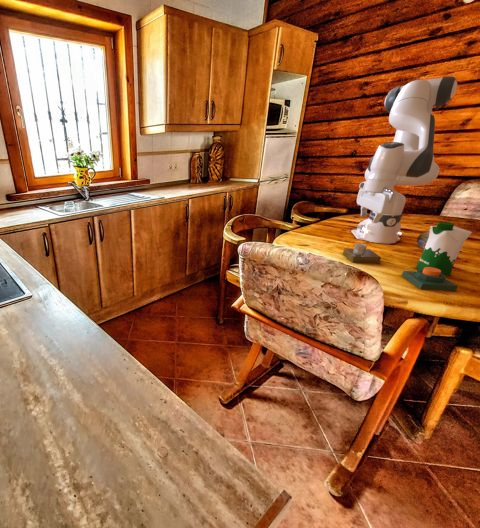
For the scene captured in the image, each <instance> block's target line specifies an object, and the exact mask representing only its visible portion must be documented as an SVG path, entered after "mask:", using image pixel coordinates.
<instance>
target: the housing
mask: <svg viewBox="0 0 480 528" xmlns="http://www.w3.org/2000/svg"><path fill="white" fill-rule="evenodd" d="M422 272H423V269H420V270H418V269H416V270H403V271H402V273H401V277H402V278H404V279H406V280H407V281H408V282H410V283H411V284H413V285H414V286H415V287H417V288H418V289H419V290H428V291H429V290H430V291H444V292H445V291H446V292H456V291H457V290H458V289H457V288H458V284H456V283H454V282H452V281H450V280H449V279H447V278H446V276H445V275H444V274H442V273H440V276H439V277H436V276H429V275H426V274H423V273H422Z"/></svg>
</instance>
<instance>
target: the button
mask: <svg viewBox="0 0 480 528" xmlns="http://www.w3.org/2000/svg"><path fill="white" fill-rule="evenodd" d="M422 273H423V274H426V275H429V276H436V277H439V276H440V273H441V270H439V269H437V268H433V267H425V268H424V269H423V272H422Z"/></svg>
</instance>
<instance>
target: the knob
mask: <svg viewBox="0 0 480 528" xmlns="http://www.w3.org/2000/svg"><path fill="white" fill-rule="evenodd" d="M367 247H368V246H367V244H364V243H355V244H354V247H353V249H354V251H353V253H354V254H356V255H364V254H365V250H366V249H367Z"/></svg>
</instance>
